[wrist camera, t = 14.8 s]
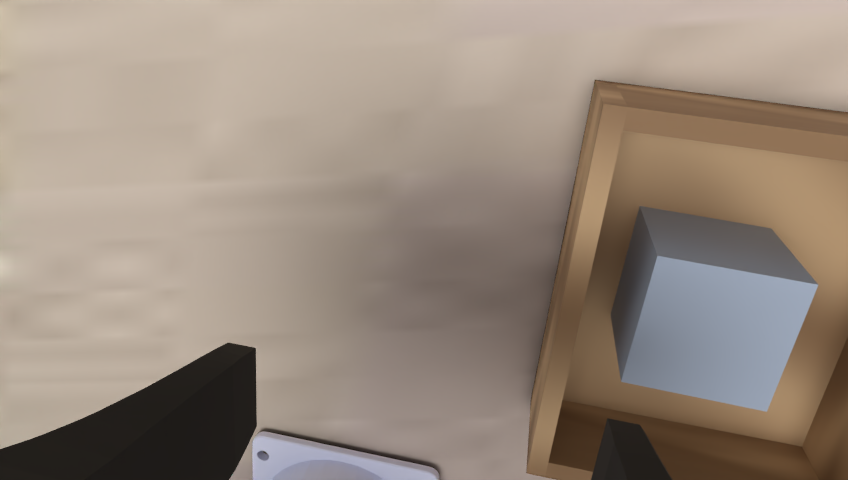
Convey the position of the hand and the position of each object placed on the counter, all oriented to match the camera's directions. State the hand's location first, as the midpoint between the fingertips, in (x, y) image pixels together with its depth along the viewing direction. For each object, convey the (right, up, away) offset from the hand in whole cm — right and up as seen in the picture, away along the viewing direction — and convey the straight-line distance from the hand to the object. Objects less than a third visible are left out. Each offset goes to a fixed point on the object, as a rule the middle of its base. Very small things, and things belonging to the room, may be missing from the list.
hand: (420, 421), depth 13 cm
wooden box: (+10, +2, +9) cm, 13 cm away
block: (+9, +3, +8) cm, 12 cm away
